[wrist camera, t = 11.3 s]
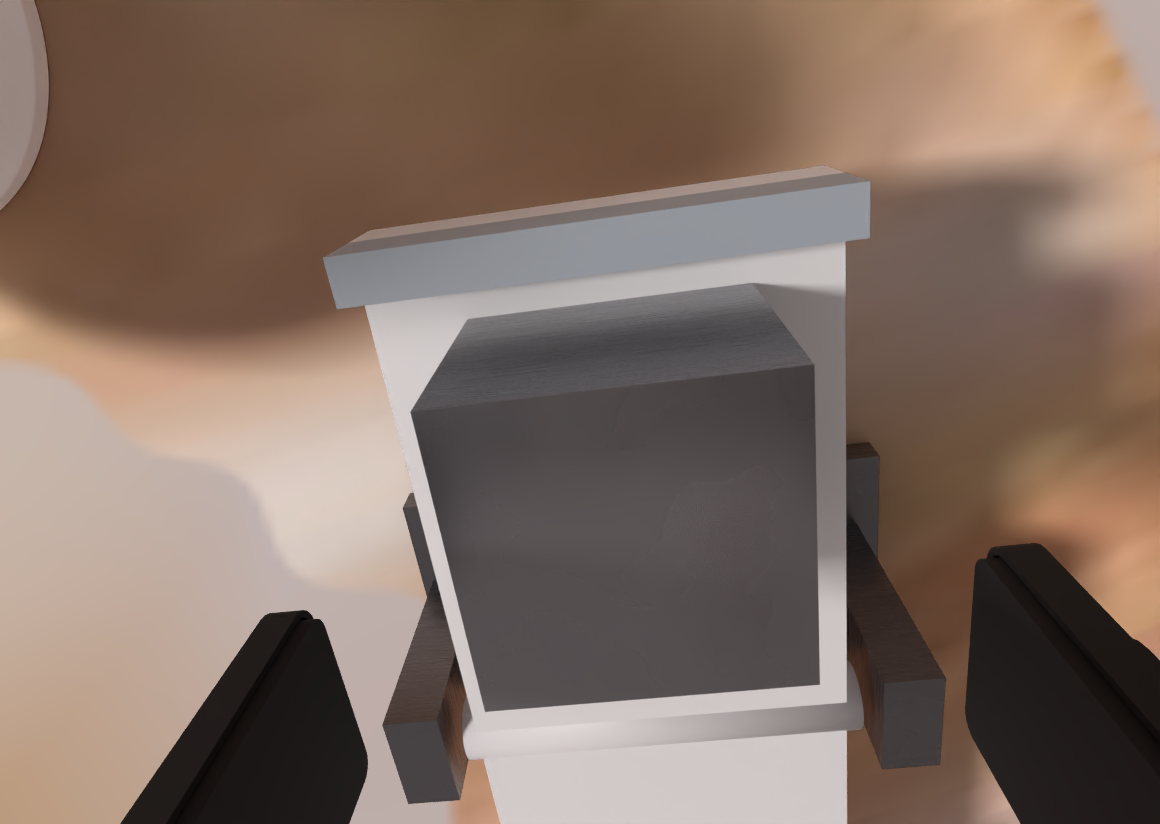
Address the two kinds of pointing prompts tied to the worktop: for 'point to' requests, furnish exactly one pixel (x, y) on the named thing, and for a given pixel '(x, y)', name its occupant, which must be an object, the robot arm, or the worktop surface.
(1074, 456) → the worktop surface
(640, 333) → the block
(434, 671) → the beam stand
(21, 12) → the decorative vase
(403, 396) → the balance beam
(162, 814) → the robot arm
